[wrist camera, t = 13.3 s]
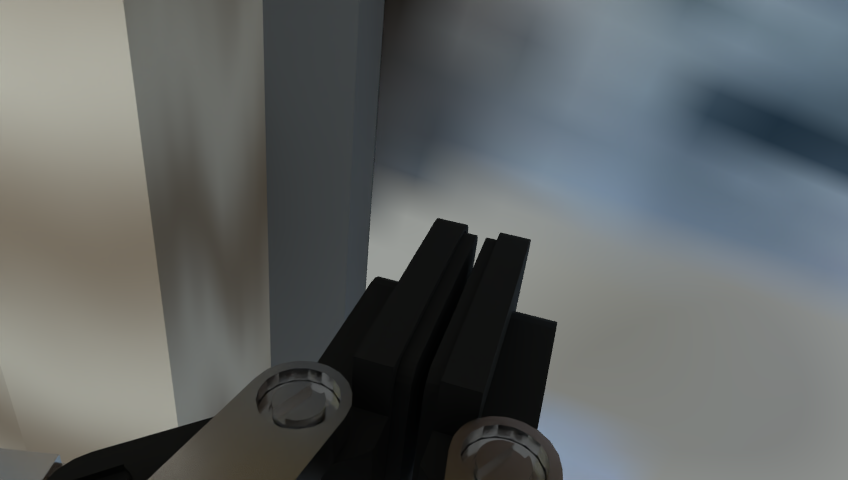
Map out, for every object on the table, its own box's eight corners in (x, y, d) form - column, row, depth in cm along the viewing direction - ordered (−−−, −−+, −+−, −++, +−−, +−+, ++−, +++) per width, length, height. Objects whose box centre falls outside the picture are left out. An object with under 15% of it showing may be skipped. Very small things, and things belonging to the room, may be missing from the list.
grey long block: (272, 449, 19) (196, 568, 16) (103, 394, 21) (-2, 494, 17) (255, -324, 10) (68, -427, 7) (-50, -346, 11) (-338, -442, 8)
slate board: (353, 473, 21) (335, 511, 20) (-123, 322, 25) (-163, 344, 24) (415, -465, 10) (383, -516, 9) (-461, -478, 14) (-571, -514, 13)
